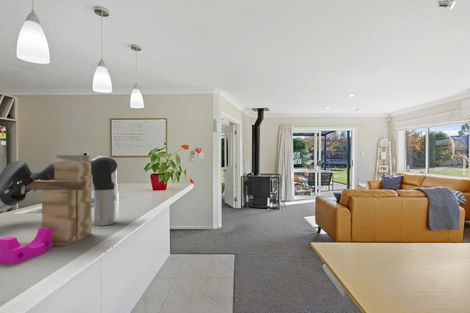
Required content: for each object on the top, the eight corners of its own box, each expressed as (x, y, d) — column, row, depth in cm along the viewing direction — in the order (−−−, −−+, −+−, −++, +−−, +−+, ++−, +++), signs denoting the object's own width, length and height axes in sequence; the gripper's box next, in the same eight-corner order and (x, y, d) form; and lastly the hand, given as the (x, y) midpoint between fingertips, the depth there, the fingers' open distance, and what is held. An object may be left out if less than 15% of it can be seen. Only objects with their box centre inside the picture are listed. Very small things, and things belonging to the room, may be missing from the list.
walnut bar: (28, 188, 110) (28, 180, 110) (86, 188, 108) (86, 180, 108) (21, 189, 107) (21, 181, 107) (80, 190, 105) (80, 181, 105)
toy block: (13, 264, 87) (13, 240, 87) (-1, 262, 89) (-1, 239, 88) (56, 248, 101) (56, 228, 101) (43, 247, 103) (43, 227, 103)
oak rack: (69, 233, 121) (69, 155, 121) (91, 233, 120) (91, 155, 120) (42, 244, 105) (41, 155, 105) (67, 245, 105) (66, 155, 104)
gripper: (27, 203, 116) (58, 184, 115) (-5, 209, 102) (31, 188, 101) (18, 187, 116) (50, 168, 115) (-15, 192, 102) (21, 170, 101)
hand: (41, 177), depth 108 cm, fingers open, 8 cm apart
